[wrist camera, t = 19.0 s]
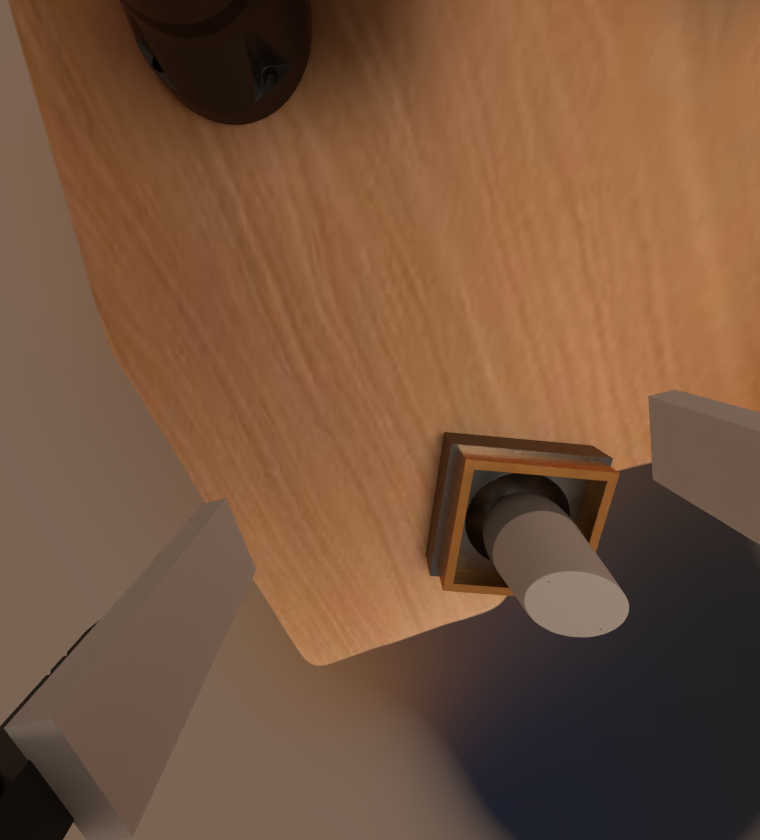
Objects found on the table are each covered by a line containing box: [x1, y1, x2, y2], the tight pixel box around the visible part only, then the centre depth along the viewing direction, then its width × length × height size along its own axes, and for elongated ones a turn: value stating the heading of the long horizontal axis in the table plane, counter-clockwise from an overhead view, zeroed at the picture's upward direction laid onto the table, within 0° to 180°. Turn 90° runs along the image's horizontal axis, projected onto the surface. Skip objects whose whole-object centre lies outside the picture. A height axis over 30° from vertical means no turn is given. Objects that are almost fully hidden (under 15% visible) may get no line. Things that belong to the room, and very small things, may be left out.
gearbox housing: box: [426, 432, 619, 596], centre depth 44 cm, size 18×17×7 cm
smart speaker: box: [483, 492, 629, 637], centre depth 36 cm, size 10×9×14 cm
